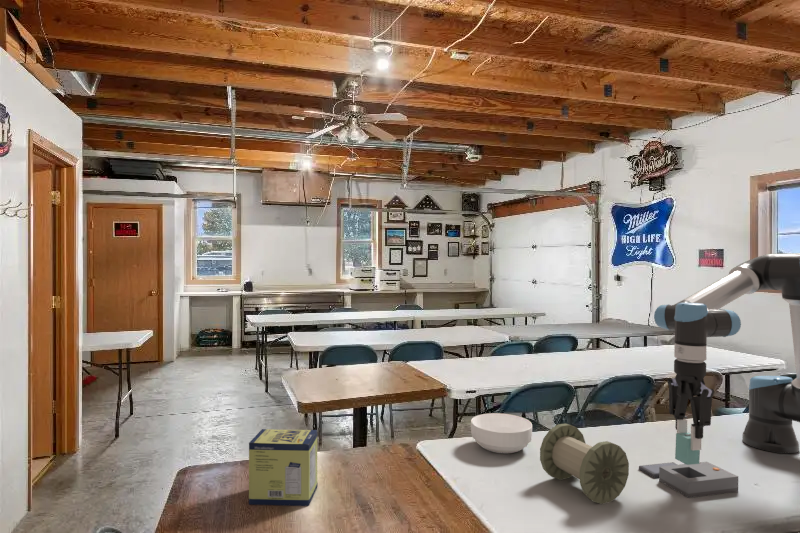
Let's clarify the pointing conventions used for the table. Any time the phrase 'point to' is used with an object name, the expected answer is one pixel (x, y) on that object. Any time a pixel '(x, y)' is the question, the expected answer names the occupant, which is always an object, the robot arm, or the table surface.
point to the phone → (654, 469)
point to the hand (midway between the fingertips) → (688, 446)
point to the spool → (585, 462)
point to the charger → (686, 449)
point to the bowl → (501, 432)
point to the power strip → (698, 479)
